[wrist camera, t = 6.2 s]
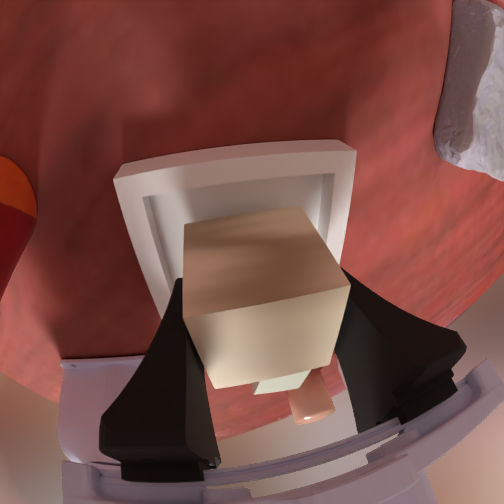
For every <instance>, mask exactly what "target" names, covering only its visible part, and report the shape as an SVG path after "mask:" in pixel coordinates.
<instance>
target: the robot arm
mask: <svg viewBox="0 0 504 504" xmlns="http://www.w3.org/2000/svg"><path fill="white" fill-rule="evenodd" d="M340 268H341V267H340ZM341 269H342V271H343V273H344V274H345V276H346V277H347V279H348V281H349V282H350V284H351V287H350V291H349V295H348V299H347V303H346V307H345V311H344V315H343V319H342V323H341V326H340V330H339V333H338V337H337V340H336V344H335V347H334V350H335V353H336V355H337V358H338V361H339V363H340V366H341V369H342V372H343V375H344V379H345V382H346V385H347V388H348V392H349V396H350V400H351V403H352V408H353V412H354V417H355V421H356V427H357V431H358V434H357V435H354V436H352V437H349V438H346V439H343V440H341V441H338V442H335V443H332V444H329V445H326V446H323V447H320V448H316V449H313V450H310V451H307V452H303V453H299V454H295V455H291V456H287V457H283V458H279V459H274V460H270V461H265V462H260V463H255V464H249V465H243V466H237V467H230V468H222V469H217V467H218V466H219V465H220V464H221V458H220V454H219V451H218V446H217V442H216V437H215V433H214V428H213V423H212V418H211V413H210V408H209V402H208V397H207V391H206V385H205V375H204V365H203V363H202V361H201V358H200V356H199V354H198V352H197V350H196V347H195V345H194V343H193V340H192V338H191V336H190V334H189V331H188V329H187V326H186V324H185V322H184V319H183V277H182V278H177V279H176V280H175V283H174V287H173V290H172V294H171V297H170V300H169V303H168V306H167V308H166V311H165V313H164V316H163V319H162V321H161V323H160V326H159V328H158V330H157V332H156V335H155V337H154V339H153V341H152V343H151V345H150V347H149V349H148V351H147V353H146V354H145V355H141V356H129V357H115V358H97V359H64V360H61V361H60V365H61V366H62V367H63V368H64V369H65V370H64V375H63V381H62V387H61V394H60V401H59V410H58V420H57V434H58V439H59V443H60V446H61V448H62V450H63V452H64V454H65V455H66V456H67V457H68V458H69V459H70V460H71V461H72V462H71V461H66V460H63V461H62V491H63V504H438V502H437V499H436V497H435V494H434V491H433V489H432V486H431V484H430V481H429V479H428V476H427V473H426V471H425V469H426V468H427V467H429V466H430V465H431V464H433V463H434V462H436V461H437V460H438V459H439V458H441V457H442V456H444V455H445V454H446V453H447V452H449V451H450V450H451V449H452V448H454V447H455V446H456V445H457V444H458V443H459V442H461V441H462V440H463V439H464V438H465V437H466V436H468V435H469V434H470V433H471V432H472V431H473V430H474V429H475V428H476V427H477V426H478V425H480V424H481V423H482V422H483V421H484V420H485V419H486V418H487V417H488V416H489V415H490V414H491V413H492V412H493V411H494V410H495V409H496V408H497V407H498V406H499V405H500V404H501V403H502V402H503V401H504V383H503V382H502V380H501V378H500V376H499V375H498V373H497V371H496V370H495V368H494V366H493V365H492V363H491V361H490V360H489V358H487V359H485V360H484V361H483V362H481V363H480V364H479V365H478V366H476V367H475V368H473V369H472V370H471V371H470V372H469V373H468V374H467V375H466V377H465V378H463V379H462V380H461V381H459V382H457V383H456V384H454V382H453V380H452V377H453V376H454V373H453V372H452V370H451V368H452V367H453V366H454V365H455V364H456V363H457V362H458V361H459V360H460V359H461V357H462V356H463V355H464V353H465V352H466V348H467V346H466V345H465V343H464V342H463V340H462V339H461V337H460V336H459V334H458V333H457V332H456V331H453V330H449V329H447V328H443V327H440V326H437V325H435V324H432V323H430V322H427V321H425V320H422V319H420V318H418V317H416V316H414V315H412V314H410V313H408V312H406V311H404V310H402V309H400V308H398V307H396V306H395V305H393V304H391V303H390V302H388V301H386V300H385V299H383V298H382V297H380V296H379V295H377V294H376V293H374V292H373V291H371V290H370V289H369V288H367V287H366V286H364V285H363V284H362V283H360V282H359V281H358V280H357V279H355V278H354V277H353V276H351V275H350V274H349V273H348V272H346V271H345V270H344V269H343V268H341ZM397 433H399V434H398V437H396V438H394V439H392V440H390V441H388V442H386V443H384V444H382V445H381V446H380V447H378V448H377V449H375V450H373V451H371V452H369V453H367V455H366V457H367V459H368V464H367V465H365V466H363V467H360V468H358V469H355V470H353V471H350V472H348V473H345V474H342V475H339V476H337V477H334V478H331V479H328V480H325V481H322V482H318V483H315V484H312V485H308V486H305V487H301V488H298V489H294V490H290V491H286V492H282V493H277V494H273V495H268V496H262V497H257V498H252V497H251V493H250V489H248V488H244V487H236V488H225V489H212V490H209V489H208V488H206V487H209V486H219V485H228V484H236V483H243V482H249V481H255V480H260V479H265V478H270V477H275V476H279V475H283V474H288V473H292V472H296V471H300V470H303V469H307V468H310V467H313V466H317V465H320V464H323V463H326V462H329V461H332V460H335V459H338V458H341V457H344V456H346V455H349V454H351V453H354V452H356V451H359V450H361V449H364V448H366V447H369V446H371V445H373V444H376V443H378V442H380V441H382V440H384V439H387V438H389V437H391V436H393V435H395V434H397ZM210 469H213V470H210Z"/></svg>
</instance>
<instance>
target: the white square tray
mask: <svg viewBox="0 0 504 504" xmlns="http://www.w3.org/2000/svg"><path fill="white" fill-rule="evenodd" d="M356 154H357V151H356V150H355V149H353V148H351V147H350V146H348V145H346V144H345V143H343V142H341V141H340V140H297V141H278V142H264V143H253V144H242V145H233V146H224V147H216V148H208V149H201V150H194V151H188V152H182V153H176V154H170V155H164V156H159V157H154V158H149V159H144V160H139V161H134V162H130V163H125V164H122V166H121V167H120V169H119V170H118V172H117V174H116V175H115V177H114V178H113V182H114V186H115V189H116V193H117V196H118V200H119V203H120V207H121V210H122V213H123V217H124V220H125V223H126V226H127V229H128V232H129V235H130V238H131V241H132V244H133V247H134V250H135V253H136V256H137V259H138V261H139V264H140V267H141V270H142V272H143V275H144V278H145V280H146V283H147V285H148V288H149V290H150V293H151V295H152V298H153V300H154V303H155V305H156V307H157V310H158V312H159V315H160V317H161V319H163V316H164V313H165V311H166V308H167V306H168V303H169V300H170V297H171V294H172V290H173V287H174V283H175V280H176V279H177V278H182V277H183V242H184V224H187V223H193V222H198V221H204V220H210V219H215V218H221V217H227V216H233V215H239V214H246V213H252V212H258V211H265V210H271V209H278V208H285V207H292V206H299V205H300V206H301V208H302V209H303V211H304V212H305V213H306V215H307V216H308V218H309V219H310V221H311V222H312V224H313V225H314V227H315V228H316V230H317V232H318V233H319V235H320V236H321V238H322V239H323V241H324V242H325V244H326V245H327V247H328V249H329V250H330V252H331V253H332V255H333V256H334V258H335V260H336V261H337V263H338V264H339V263H340V258H341V253H342V248H343V243H344V237H345V232H346V226H347V220H348V214H349V207H350V201H351V194H352V187H353V179H354V171H355V163H356Z"/></svg>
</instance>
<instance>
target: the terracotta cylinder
mask: <svg viewBox="0 0 504 504" xmlns="http://www.w3.org/2000/svg"><path fill="white" fill-rule="evenodd" d="M285 391H286V394H287V397H288V401H289V404H290V407H291V410H292V413H293V417H294V420H295V423H296V424H297V425H303V424H309V423H313V422H316V421H319V420H321V419H323V418H325V417H327V416H329V415H331V414H332V413H333V412H334V411H335V407H334V405H333V402H332V400H331V397H330V394H329V392H328V389H327V387H326V384H325V382H324V379H323V377H322V374H321V371H320V369H319V368H315V369H311V371H310V372H309V374H308V375H307V377H306V378H305V380H304V381H303V383H302V384H301V386H300V387H299V388H297V389H291V390H285Z"/></svg>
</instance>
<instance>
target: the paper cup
mask: <svg viewBox="0 0 504 504" xmlns="http://www.w3.org/2000/svg"><path fill="white" fill-rule="evenodd" d="M36 220H37V204H36V198H35V194H34V191H33V188H32V186H31V184H30V182H29V180H28V178H27V176H26V175H25V173H24V172H23V171H22V169H21V168H20V167H19V166H18V165H17V164H16V163H15V162H13V161H12V160H10V159H8V158H6V157H4V156H0V301H1V298H2V296H3V294H4V291H5V289H6V287H7V284H8V282H9V280H10V277H11V275H12V273H13V271H14V269H15V267H16V265H17V263H18V261H19V259H20V257H21V255H22V253H23V251H24V249H25V247H26V245H27V243H28V241H29V239H30V237H31V235H32V233H33V230H34V228H35V224H36Z"/></svg>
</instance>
